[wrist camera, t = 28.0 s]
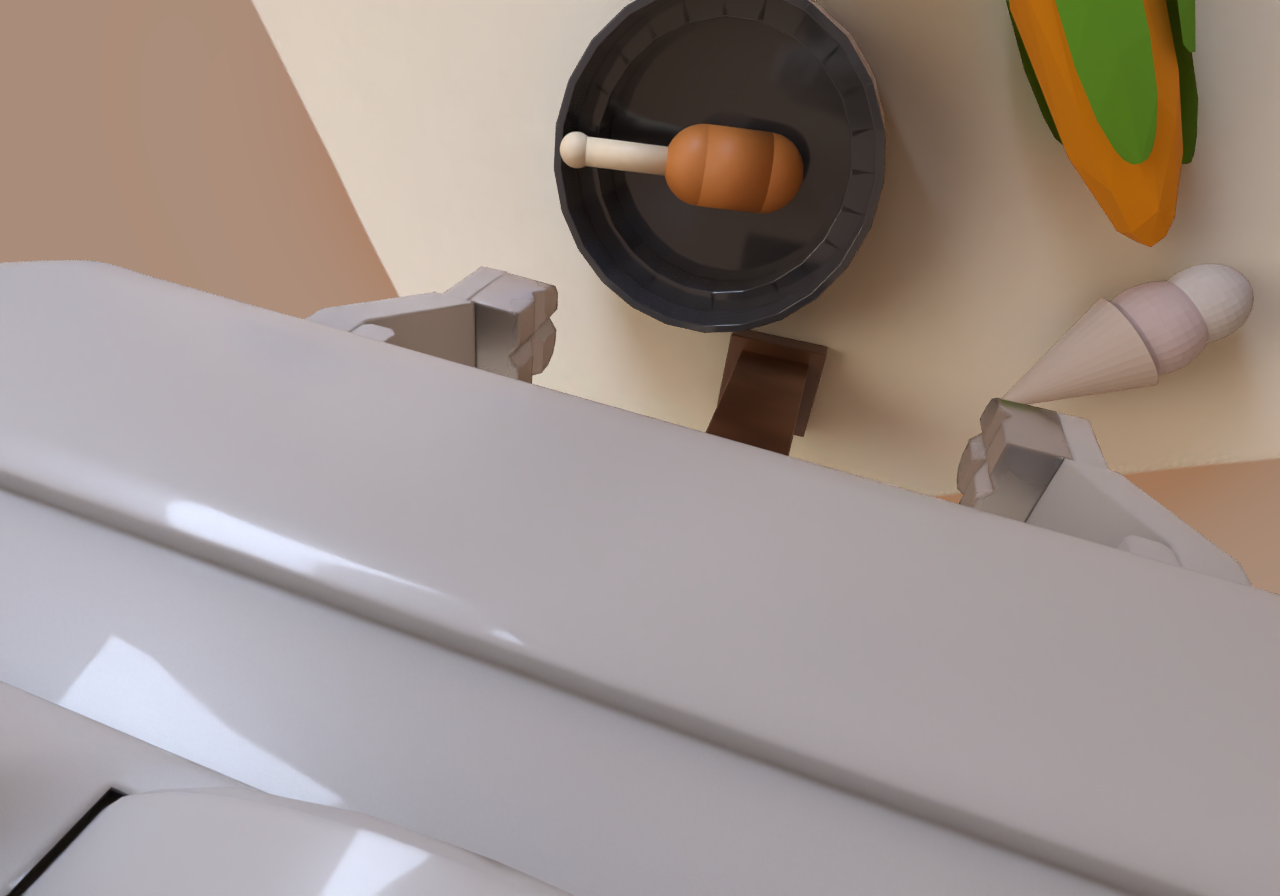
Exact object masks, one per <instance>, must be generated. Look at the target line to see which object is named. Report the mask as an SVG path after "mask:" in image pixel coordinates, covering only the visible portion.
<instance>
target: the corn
mask: <svg viewBox="0 0 1280 896" xmlns="http://www.w3.org/2000/svg"><path fill="white" fill-rule="evenodd" d="M1006 3H1007V6H1008V10H1009V14H1010V17H1011V21H1012V25H1013V29H1014V32H1015V36H1016V40H1017V44H1018V47H1019V51H1020V55H1021V58H1022V62H1023V66H1024V70H1025V73H1026V75H1027V78H1028V80H1029V82H1030V85H1031V87H1032V90H1033V92H1034V95H1035V97H1036V100H1037V102H1038V105H1039V107H1040V110H1041V112H1042V115H1043V117H1044V119H1045V121H1046V123H1047V124H1048V126H1049V128H1050V130H1051V132H1052V133H1053V135H1054V137H1055V139H1057V140H1058V141H1059V142H1060V143H1061V144H1062V145H1063V146H1064V148H1065V151H1066V153H1067V156H1068V158H1069V160H1070V161H1071V163H1072V164H1073V166H1074V167H1075V169H1076V170H1077V172H1078V173H1079V175H1080V176H1081V178H1082V179H1083V181H1084V182H1085V184H1086V185H1087V187H1088V188H1089V190H1090V191H1091V193H1092V194H1093V196H1094V197H1095V199H1096V200H1097V202H1098V203H1099V205H1100V206H1101V208H1102V209H1103V211H1104V212H1105V214H1106V215H1107V217H1108V218H1109V220H1110V221H1111V223H1112V224H1113V226H1114V227H1115V229H1116V230H1117V231H1118V232H1120V233H1122V234H1123V235H1125V236H1127V237H1129V238H1131V239H1133V240H1135V241H1136V242H1139V243H1141V244H1144V245H1147V246H1149V247H1152V246H1153V245H1155V244H1156V243H1157V242H1159V241H1160V240H1161V239H1163V238H1164V237H1165V236H1166V235H1167V233H1168V230H1169V228H1170V226H1171V224H1172V222H1173V220H1174V217H1175V210H1176V202H1177V195H1178V187H1179V179H1180V171H1181V164H1188V163H1190V162H1191V161H1192V158H1193V156H1194V151H1195V144H1196V137H1197V109H1198V95H1197V88H1196V81H1195V73H1194V66H1193V59H1192V52H1195V0H1006Z"/></svg>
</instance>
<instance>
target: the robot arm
mask: <svg viewBox="0 0 1280 896" xmlns="http://www.w3.org/2000/svg"><path fill="white" fill-rule="evenodd" d="M557 306H558V292H557V289H556V287H555V286H554V285H550V284H547V283H543V282H539V281H536V280H532V279H528V278H525V277H521V276H517V275H514V274H510V273H507V272H506V271H501V270H496V269H492V268H487V267H483V266H482V267H480V268H479V269H477V270H476V271H474V272H473V273H472V274H470V275H469V276H467V277H466V278H464V279H463V280H462V281H460V282H459V283H457V284H456V285H454V286H453V287H452V288H450V289H449V290H447V291H446V292H444V293H443V294H441V293H437V292H432V293H425V294H419V295H412V296H405V297H398V298H391V299H384V300H377V301H371V302H364V303H357V304H351V305H344V306H337V307H329V308H323V309H321V310H319V311H318V312H316V313H314V314H312V315H311V316H309V317H307V318H306V319H300V318H297V317H293V316H290V315H286V314H282V313H279V312H275V311H272V310H268V309H265V308H261V307H258V306H254V305H250V304H247V303H243V302H240V301H236V300H233V299H229V298H226V297H222V296H219V295H215V294H211V293H208V292H204V291H201V290H197V289H193V288H190V287H187V286H183V285H179V284H175V283H172V282H169V281H165V280H161V279H158V278H154V277H151V276H147V275H144V274H141V273H138V272H135V271H132V270H129V269H126V268H122V267H119V266H114V265H111V264H107V263H104V262H96V261H82V260H54V261H28V262H27V261H26V262H8V263H0V896H1280V594H1276V593H1272V592H1268V591H1266V590H1261V589H1258V588H1255V587H1253V586H1252V584H1251V583H1250V581H1249V579H1248V577H1247V575H1246V573H1245V571H1244V570H1243V568H1242V566H1241V564H1240V563H1239V562H1237V561H1236V560H1235V559H1233V558H1232V557H1231V556H1229V555H1228V554H1227V553H1225V552H1224V551H1223V550H1221V549H1220V548H1219V547H1217V546H1216V545H1215V544H1213V543H1212V542H1211V541H1209V540H1208V539H1207V538H1205V537H1204V536H1203V535H1201V534H1200V533H1199V532H1197V531H1196V530H1195V529H1193V528H1192V527H1190V526H1189V525H1188V524H1187V523H1185V522H1184V521H1183V520H1181V519H1180V518H1179V517H1177V516H1176V515H1175V514H1173V513H1172V512H1170V511H1169V510H1168V509H1167V508H1165V507H1164V506H1162V505H1161V504H1160V503H1158V502H1157V501H1156V500H1154V499H1153V498H1152V497H1150V496H1149V495H1148V494H1146V493H1145V492H1144V491H1142V490H1141V489H1140V488H1138V487H1137V486H1136V485H1134V484H1133V483H1132V482H1130V481H1129V480H1128V479H1126V478H1125V477H1124V476H1122V475H1121V474H1120V473H1118V472H1114V471H1111V470H1109V469H1108V467H1107V464H1106V462H1105V459H1104V457H1103V454H1102V452H1101V450H1100V447H1099V445H1098V442H1097V440H1096V437H1095V435H1094V432H1093V430H1092V427H1091V425H1090V422H1089V421H1088V420H1086V419H1084V418H1080V417H1075V416H1070V415H1066V414H1061V413H1057V412H1056V411H1052V410H1048V409H1043V408H1039V407H1035V406H1030V405H1026V404H1022V403H1017V402H1013V401H1009V400H1004V399H1000V398H994V399H992V400H991V401H990V402H989V404H988V405H987V406H986V408H985V410H984V412H983V414H982V416H981V418H980V423H981V430H982V433H981V434H979V435H977V436H975V437H973V438H972V439H970V440H969V442H968V444H967V446H966V448H965V450H964V452H963V455H962V458H961V461H960V464H959V467H958V473H957V489H958V490H959V491H960V492H961V493H962V494H963V497H962V499H961V501H960V503H959V504H957V503H953V502H950V501H946V500H942V499H939V498H935V497H932V496H928V495H925V494H921V493H918V492H914V491H911V490H907V489H903V488H900V487H896V486H893V485H889V484H886V483H882V482H879V481H875V480H872V479H868V478H864V477H861V476H857V475H854V474H850V473H847V472H843V471H840V470H836V469H833V468H829V467H825V466H822V465H818V464H815V463H811V462H808V461H804V460H801V459H797V458H793V457H790V456H786V455H783V454H779V453H776V452H772V451H769V450H765V449H762V448H758V447H754V446H751V445H747V444H744V443H740V442H737V441H733V440H730V439H726V438H722V437H719V436H715V435H712V434H708V433H705V432H701V431H698V430H694V429H691V428H687V427H683V426H680V425H676V424H673V423H669V422H666V421H662V420H659V419H655V418H652V417H648V416H644V415H641V414H637V413H634V412H630V411H627V410H623V409H620V408H616V407H612V406H609V405H605V404H602V403H598V402H595V401H591V400H588V399H584V398H581V397H577V396H573V395H570V394H566V393H563V392H559V391H556V390H552V389H549V388H545V387H542V386H538V385H534V384H532V375H535V374H539V373H542V372H543V370H544V369H545V368H546V367H547V366H548V364H549V361H550V359H551V357H552V354H553V351H554V346H555V340H556V328H555V327H554V325H553V323H552V321H551V319H550V318H549V317H550V316H551V315H552V314H553V313H554V312H555V311H556V310H557Z"/></svg>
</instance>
